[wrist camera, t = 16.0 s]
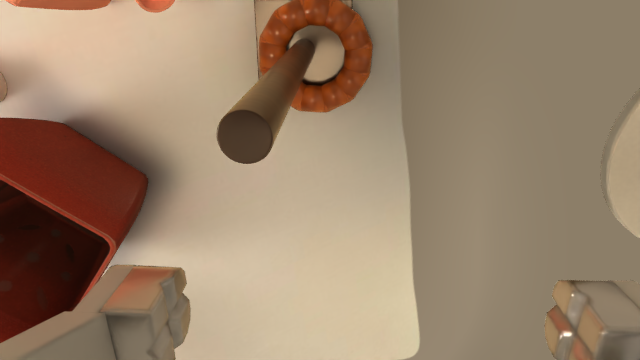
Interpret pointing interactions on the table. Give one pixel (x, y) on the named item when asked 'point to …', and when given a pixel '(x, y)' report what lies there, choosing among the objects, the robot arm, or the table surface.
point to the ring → (327, 10)
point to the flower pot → (57, 218)
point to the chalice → (2, 87)
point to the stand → (278, 87)
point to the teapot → (89, 4)
